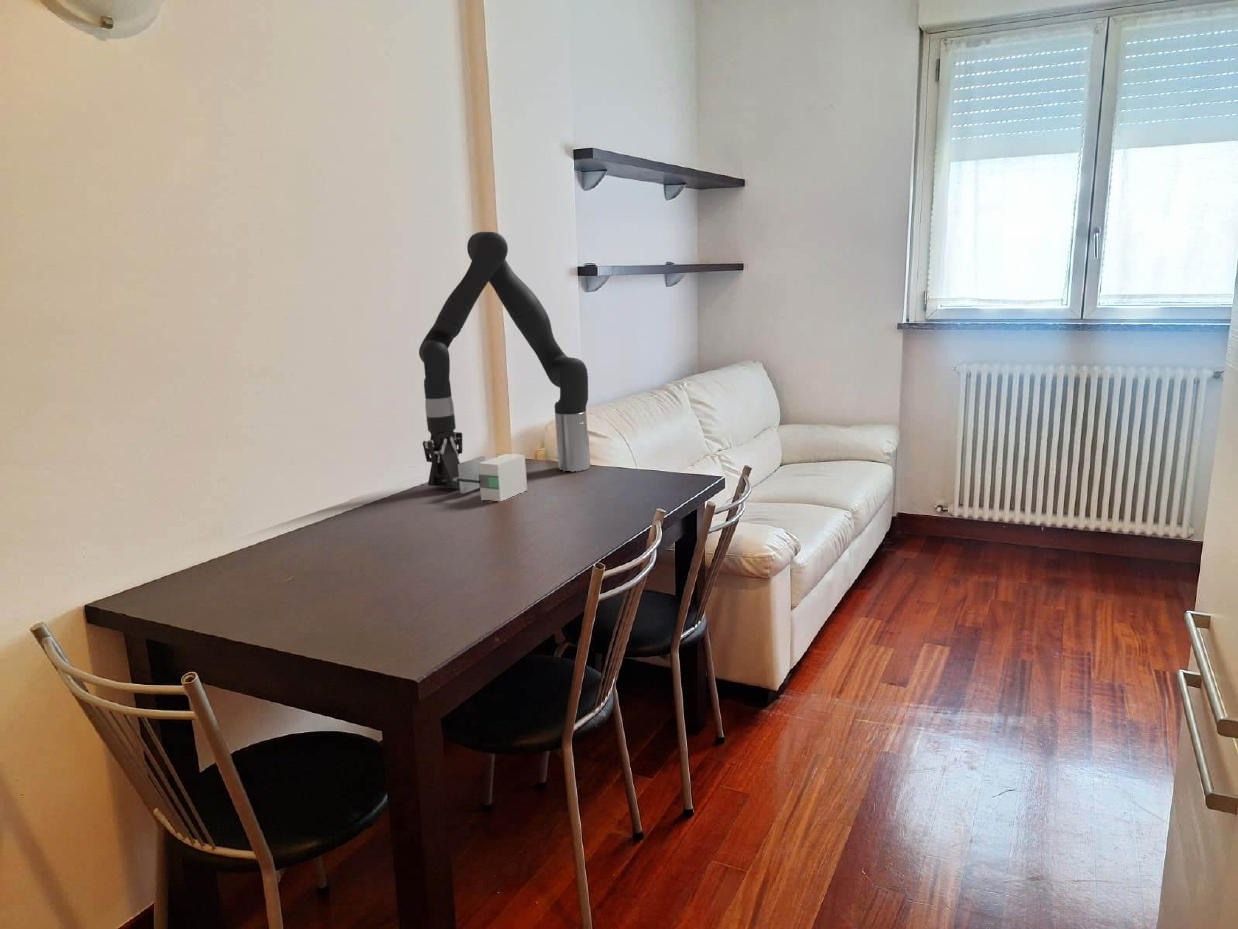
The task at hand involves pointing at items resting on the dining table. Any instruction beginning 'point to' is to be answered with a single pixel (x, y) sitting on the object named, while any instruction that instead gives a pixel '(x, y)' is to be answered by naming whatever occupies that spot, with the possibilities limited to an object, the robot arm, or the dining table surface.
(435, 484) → the phone stand
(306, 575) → the dining table surface
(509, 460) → the box
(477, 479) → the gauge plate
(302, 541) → the dining table surface
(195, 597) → the dining table surface
